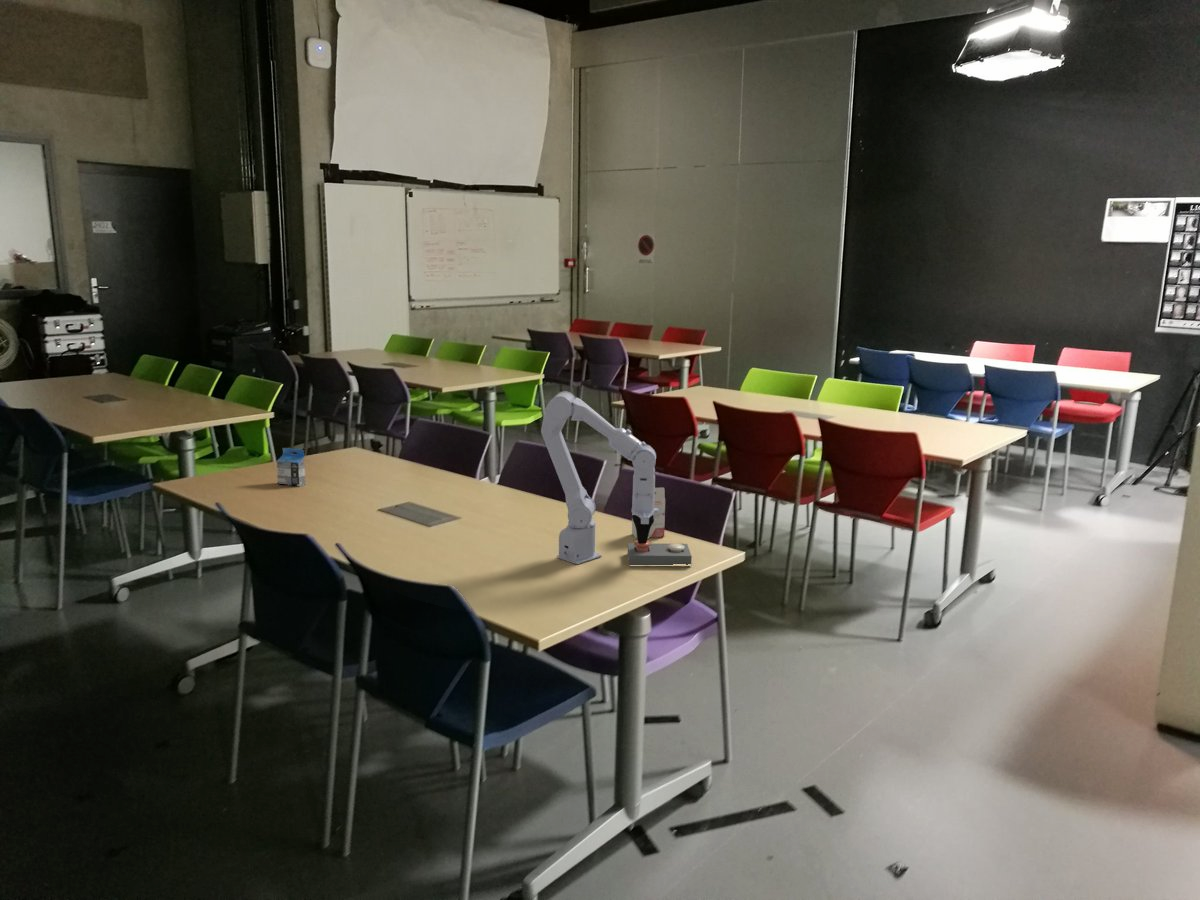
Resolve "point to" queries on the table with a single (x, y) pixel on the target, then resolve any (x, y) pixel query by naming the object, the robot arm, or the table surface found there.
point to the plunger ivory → (676, 547)
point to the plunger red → (642, 546)
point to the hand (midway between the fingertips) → (642, 542)
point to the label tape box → (291, 467)
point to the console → (658, 555)
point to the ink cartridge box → (656, 515)
